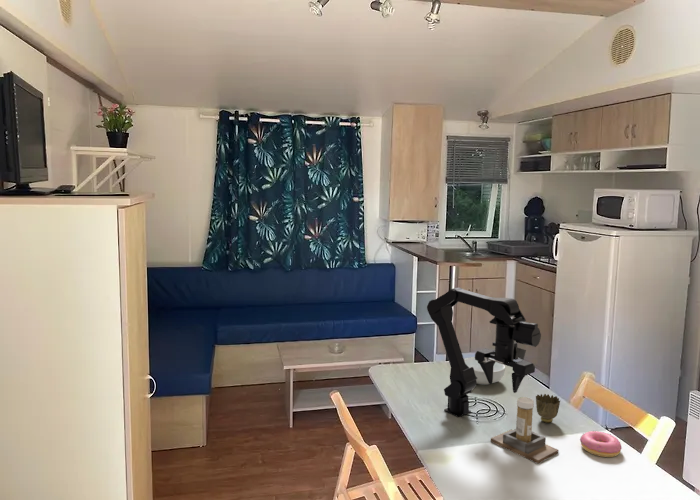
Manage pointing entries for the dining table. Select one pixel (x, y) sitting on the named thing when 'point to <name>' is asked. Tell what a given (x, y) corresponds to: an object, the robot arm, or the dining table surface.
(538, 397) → the cup
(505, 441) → the socket board
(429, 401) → the dining table surface
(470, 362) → the cereal bowl
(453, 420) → the dining table surface
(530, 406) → the sprinkles bottle
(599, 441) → the doughnut
